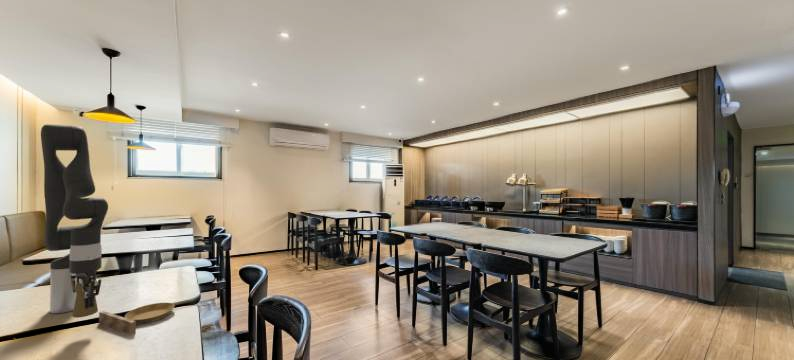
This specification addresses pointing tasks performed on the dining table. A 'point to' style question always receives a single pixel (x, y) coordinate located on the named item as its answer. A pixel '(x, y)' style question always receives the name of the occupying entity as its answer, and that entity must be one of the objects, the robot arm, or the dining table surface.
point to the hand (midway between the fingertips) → (85, 306)
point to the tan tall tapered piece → (82, 303)
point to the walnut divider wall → (117, 322)
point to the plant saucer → (150, 312)
